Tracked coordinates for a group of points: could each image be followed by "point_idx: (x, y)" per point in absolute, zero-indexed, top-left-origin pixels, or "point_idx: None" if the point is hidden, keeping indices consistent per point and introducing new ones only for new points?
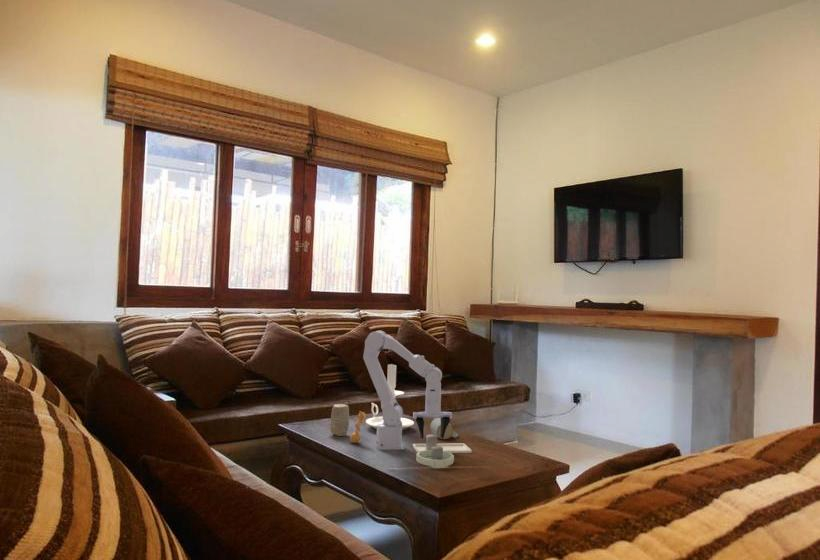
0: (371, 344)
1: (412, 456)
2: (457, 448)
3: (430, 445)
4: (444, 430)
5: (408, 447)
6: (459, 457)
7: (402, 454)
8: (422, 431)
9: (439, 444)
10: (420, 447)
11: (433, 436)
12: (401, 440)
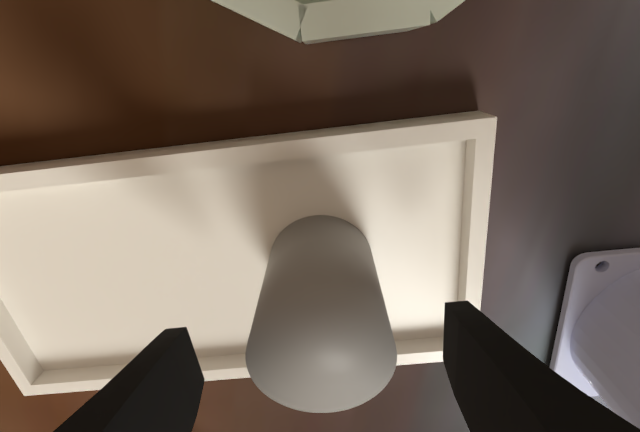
0: None
1: (553, 62)
2: (78, 301)
3: (339, 241)
4: (87, 414)
5: None
6: (33, 52)
7: (632, 133)
8: (519, 367)
9: (236, 365)
10: (410, 311)
11: (300, 335)
12: (624, 360)
